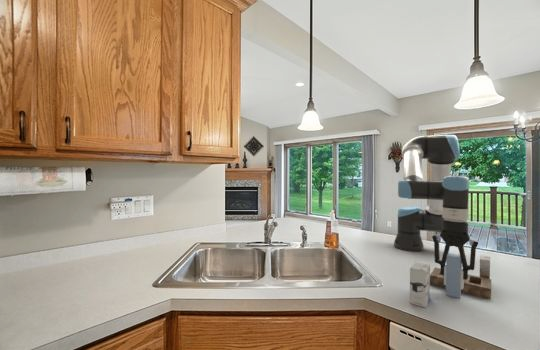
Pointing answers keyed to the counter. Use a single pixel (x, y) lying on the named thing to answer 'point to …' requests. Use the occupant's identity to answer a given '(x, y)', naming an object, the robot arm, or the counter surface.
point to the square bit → (453, 275)
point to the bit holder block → (465, 284)
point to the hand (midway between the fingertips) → (453, 285)
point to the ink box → (420, 284)
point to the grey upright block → (485, 267)
